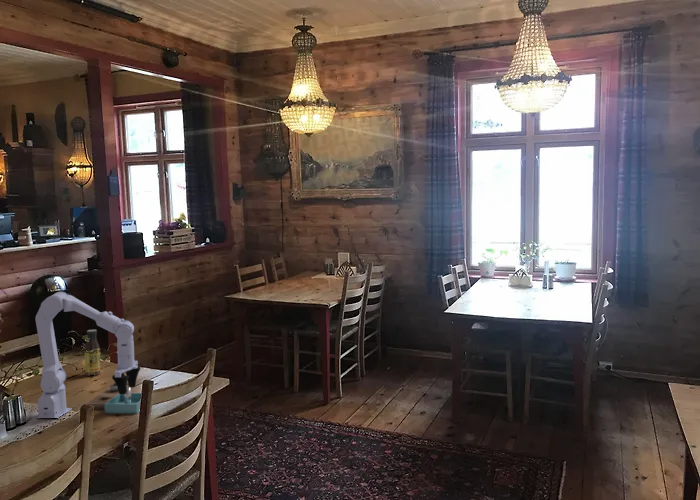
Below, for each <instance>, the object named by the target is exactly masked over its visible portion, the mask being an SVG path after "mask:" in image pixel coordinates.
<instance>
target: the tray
mask: <svg viewBox="0 0 700 500" xmlns="http://www.w3.org/2000/svg"><path fill="white" fill-rule="evenodd" d="M141 393H142V392H131V401H132V404H125V400H124V394H117V395H116V396H115V397H113V398H112V399H111V400H109V401H108V402H107V403H105V404H104V405H105V409H104V414H114V415H115V414H120V415H121V414H123V415H125V414H126V415H128V414H129V415H138V414H139V413H140V412H139V409H140V402H141V400H140V399H141Z"/></svg>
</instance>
